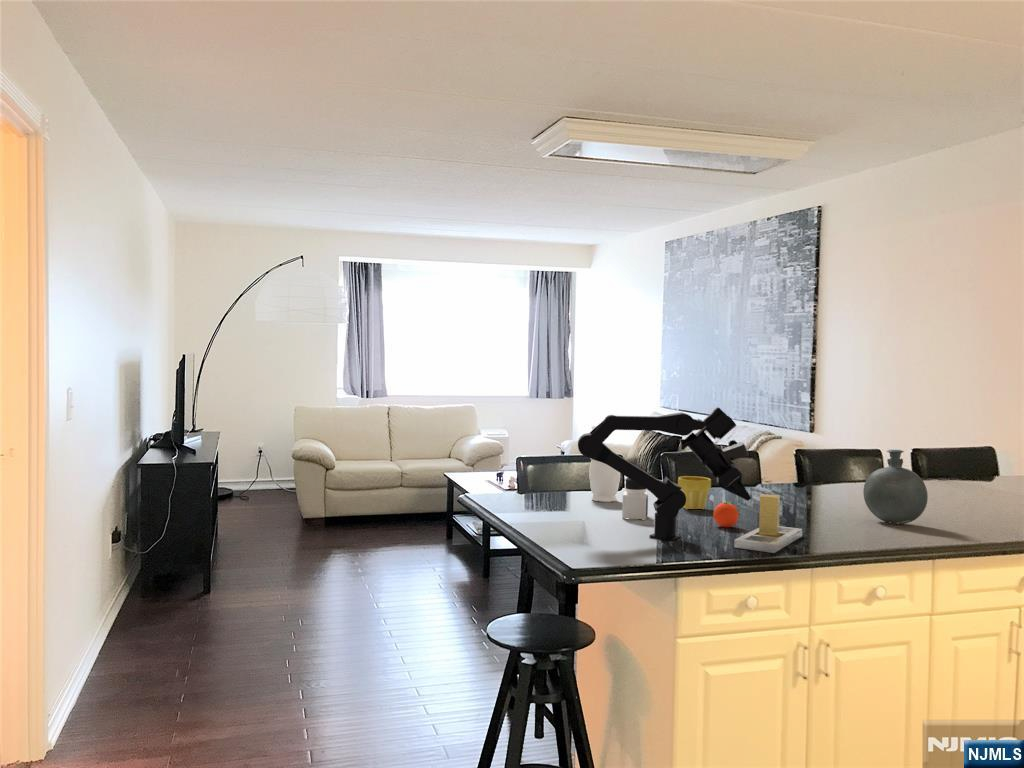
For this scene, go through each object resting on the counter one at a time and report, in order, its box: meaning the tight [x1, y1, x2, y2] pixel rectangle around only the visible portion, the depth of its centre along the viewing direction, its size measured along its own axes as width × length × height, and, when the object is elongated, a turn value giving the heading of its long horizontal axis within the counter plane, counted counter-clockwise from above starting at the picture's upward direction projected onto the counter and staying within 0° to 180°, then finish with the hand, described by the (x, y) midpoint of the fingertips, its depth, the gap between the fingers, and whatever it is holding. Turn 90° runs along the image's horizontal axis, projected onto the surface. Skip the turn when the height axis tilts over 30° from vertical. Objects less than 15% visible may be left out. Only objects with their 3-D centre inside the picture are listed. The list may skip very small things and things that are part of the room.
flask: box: [863, 449, 929, 525], centre depth 252 cm, size 12×17×22 cm
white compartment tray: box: [733, 525, 803, 554], centre depth 222 cm, size 26×10×2 cm, turn 147°
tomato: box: [712, 501, 739, 528], centre depth 242 cm, size 8×7×7 cm
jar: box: [588, 458, 621, 503], centre depth 285 cm, size 11×10×15 cm
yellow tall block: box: [758, 493, 781, 538], centre depth 222 cm, size 4×4×12 cm
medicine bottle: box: [621, 477, 649, 521], centre depth 254 cm, size 7×7×12 cm
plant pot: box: [677, 475, 712, 510], centre depth 272 cm, size 10×10×10 cm
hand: (746, 495), depth 223 cm, fingers open, 9 cm apart
